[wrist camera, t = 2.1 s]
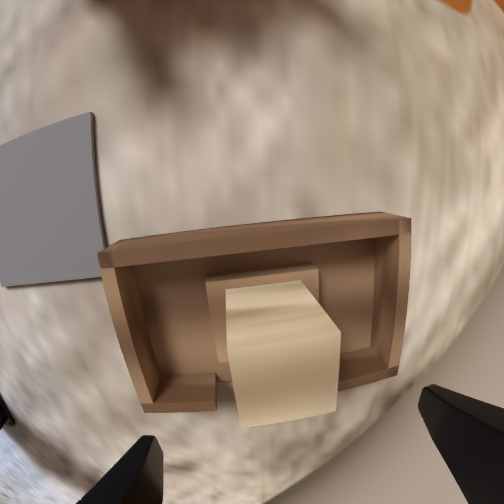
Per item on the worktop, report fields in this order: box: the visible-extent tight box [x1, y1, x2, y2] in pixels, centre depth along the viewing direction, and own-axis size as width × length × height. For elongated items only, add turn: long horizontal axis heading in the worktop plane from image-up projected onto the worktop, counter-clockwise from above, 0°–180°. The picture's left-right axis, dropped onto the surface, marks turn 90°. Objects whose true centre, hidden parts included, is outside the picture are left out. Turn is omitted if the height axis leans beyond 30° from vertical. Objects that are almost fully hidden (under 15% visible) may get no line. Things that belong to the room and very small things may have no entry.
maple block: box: [226, 280, 341, 428], centre depth 13 cm, size 4×4×6 cm
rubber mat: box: [0, 112, 106, 287], centre depth 15 cm, size 10×10×1 cm
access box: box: [97, 212, 411, 413], centre depth 16 cm, size 10×16×4 cm, turn 96°
